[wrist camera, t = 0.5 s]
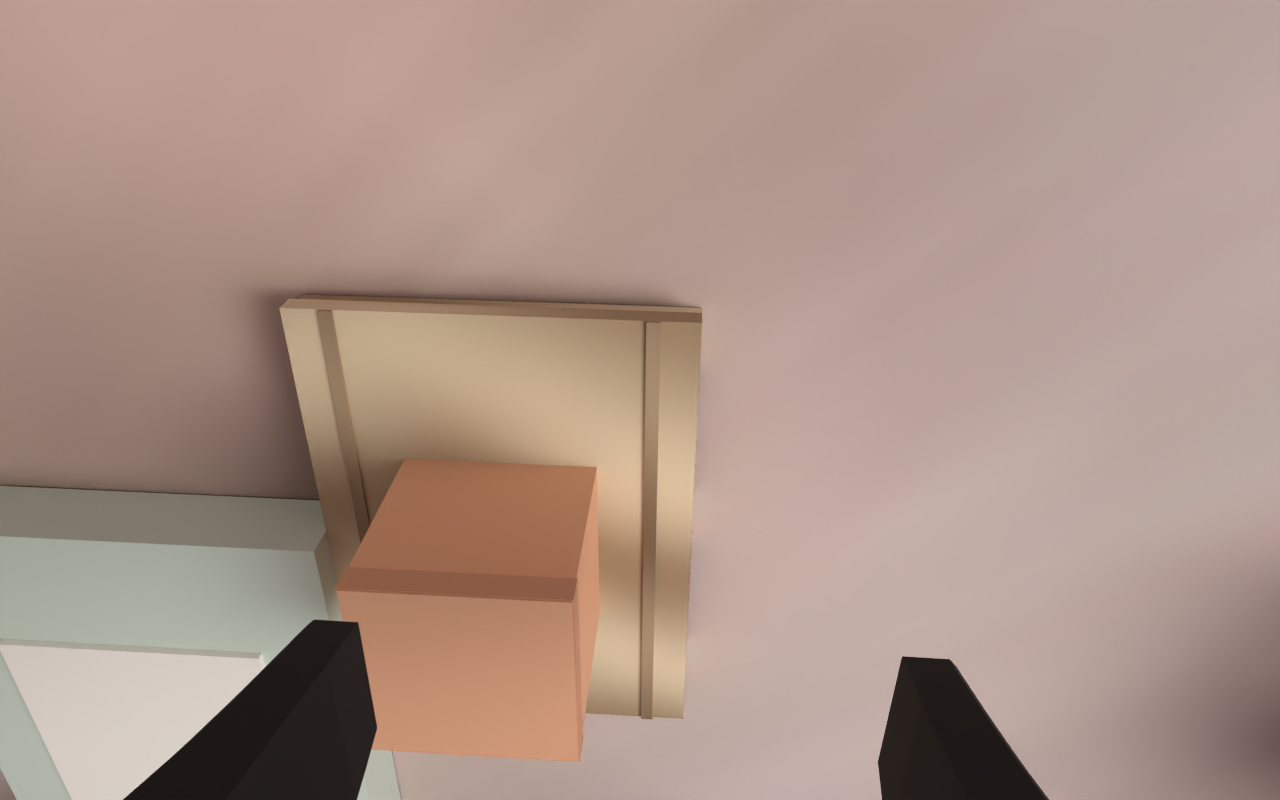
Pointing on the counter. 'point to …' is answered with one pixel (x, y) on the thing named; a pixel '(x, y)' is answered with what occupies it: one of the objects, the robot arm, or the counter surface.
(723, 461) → the counter surface
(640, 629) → the pallet
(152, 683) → the dock
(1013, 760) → the robot arm
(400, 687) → the orange block
